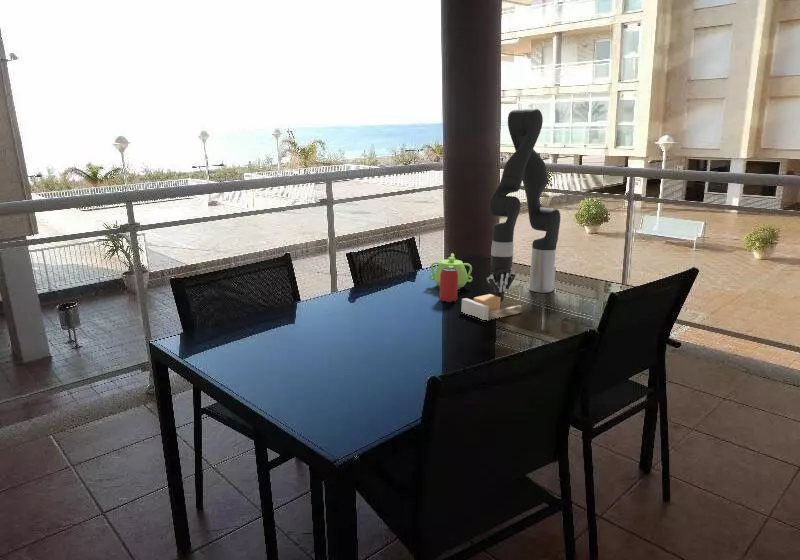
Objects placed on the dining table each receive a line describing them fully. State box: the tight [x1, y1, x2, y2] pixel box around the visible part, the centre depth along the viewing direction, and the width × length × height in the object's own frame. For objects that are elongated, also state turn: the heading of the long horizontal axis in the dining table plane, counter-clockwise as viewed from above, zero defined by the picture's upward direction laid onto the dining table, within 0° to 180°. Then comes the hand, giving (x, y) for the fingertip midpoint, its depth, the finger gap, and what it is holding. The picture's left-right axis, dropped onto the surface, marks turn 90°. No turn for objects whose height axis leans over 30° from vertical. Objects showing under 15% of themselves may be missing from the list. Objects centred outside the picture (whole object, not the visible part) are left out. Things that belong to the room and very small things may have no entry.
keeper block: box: [473, 293, 501, 312], centre depth 202 cm, size 8×5×6 cm, turn 128°
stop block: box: [460, 297, 489, 321], centre depth 199 cm, size 2×11×5 cm, turn 35°
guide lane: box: [487, 302, 523, 321], centre depth 204 cm, size 16×11×2 cm
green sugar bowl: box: [429, 252, 473, 289], centre depth 235 cm, size 16×14×13 cm
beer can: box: [439, 268, 458, 303], centre depth 217 cm, size 7×7×12 cm
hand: (499, 301), depth 205 cm, fingers closed
